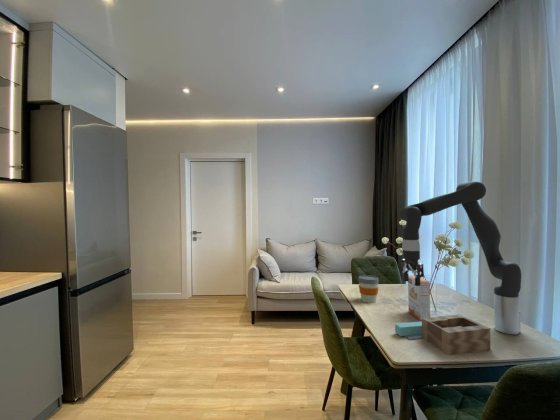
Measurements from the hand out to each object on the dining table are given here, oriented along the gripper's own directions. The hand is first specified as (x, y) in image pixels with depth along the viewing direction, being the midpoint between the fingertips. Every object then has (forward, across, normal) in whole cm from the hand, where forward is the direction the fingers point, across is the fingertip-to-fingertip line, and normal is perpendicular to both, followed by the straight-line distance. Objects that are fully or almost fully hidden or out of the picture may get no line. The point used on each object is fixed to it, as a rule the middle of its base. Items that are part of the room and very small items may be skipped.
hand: (411, 283), depth 135 cm
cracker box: (+24, +20, -18) cm, 36 cm away
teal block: (+23, 0, 0) cm, 23 cm away
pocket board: (+24, -12, -12) cm, 29 cm away
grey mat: (+24, 0, 0) cm, 24 cm away
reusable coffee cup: (+24, +50, -4) cm, 56 cm away
